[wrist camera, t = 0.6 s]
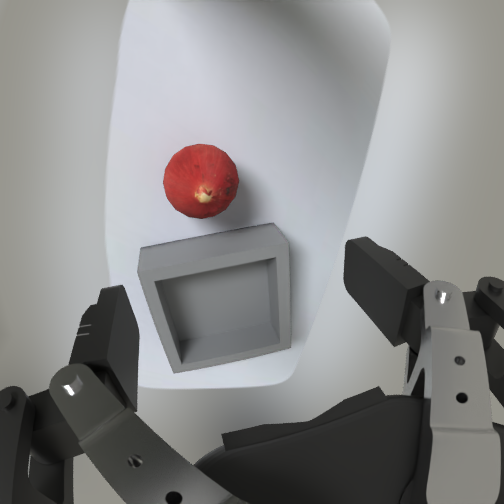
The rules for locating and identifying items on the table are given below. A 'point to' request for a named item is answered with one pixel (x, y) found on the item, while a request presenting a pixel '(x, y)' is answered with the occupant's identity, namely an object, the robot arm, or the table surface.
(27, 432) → the robot arm
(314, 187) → the table surface
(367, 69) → the table surface
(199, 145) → the pomegranate
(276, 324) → the box
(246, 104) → the table surface
